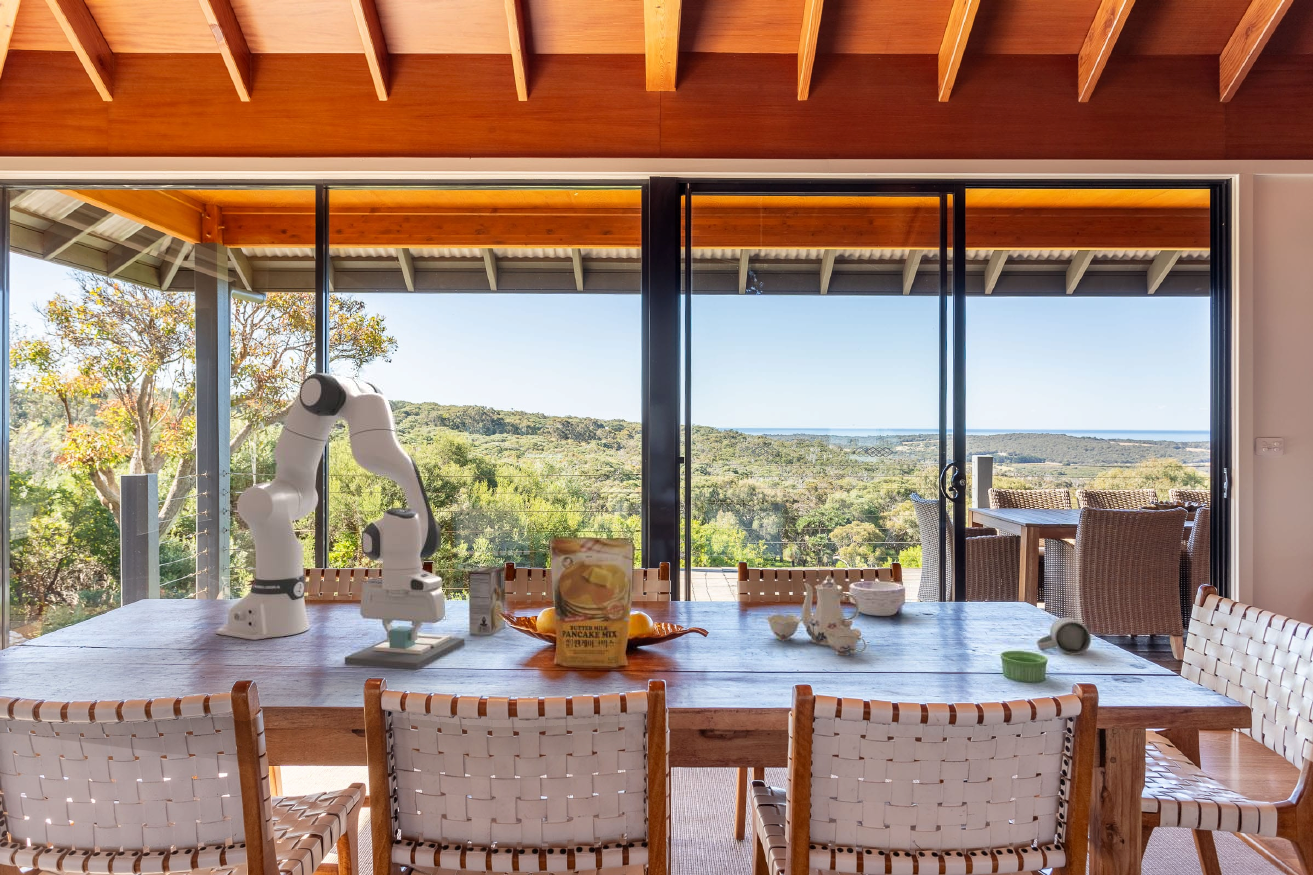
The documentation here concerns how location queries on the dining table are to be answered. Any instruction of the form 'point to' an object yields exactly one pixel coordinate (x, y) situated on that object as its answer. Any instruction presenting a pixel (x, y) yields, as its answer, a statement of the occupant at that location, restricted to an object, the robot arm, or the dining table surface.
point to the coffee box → (486, 600)
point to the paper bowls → (878, 597)
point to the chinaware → (822, 620)
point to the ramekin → (1024, 666)
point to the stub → (401, 642)
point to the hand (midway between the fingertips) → (402, 639)
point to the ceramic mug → (1067, 637)
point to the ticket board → (407, 660)
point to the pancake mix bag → (591, 600)
